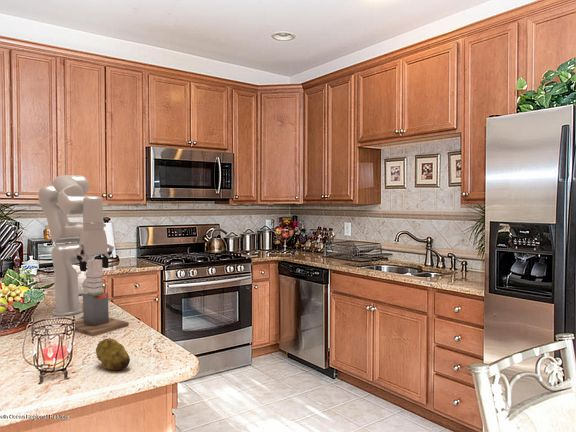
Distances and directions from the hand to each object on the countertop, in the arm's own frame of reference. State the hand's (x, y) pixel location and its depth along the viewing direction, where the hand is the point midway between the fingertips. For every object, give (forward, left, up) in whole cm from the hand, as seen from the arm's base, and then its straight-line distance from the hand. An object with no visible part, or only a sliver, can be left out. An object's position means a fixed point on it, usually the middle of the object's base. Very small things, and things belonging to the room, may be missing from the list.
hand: (94, 269), depth 180 cm
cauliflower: (-67, +31, -24) cm, 77 cm away
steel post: (0, 0, -16) cm, 16 cm away
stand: (0, 0, -24) cm, 24 cm away
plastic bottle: (-16, +8, -24) cm, 30 cm away
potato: (+43, -22, -24) cm, 54 cm away
